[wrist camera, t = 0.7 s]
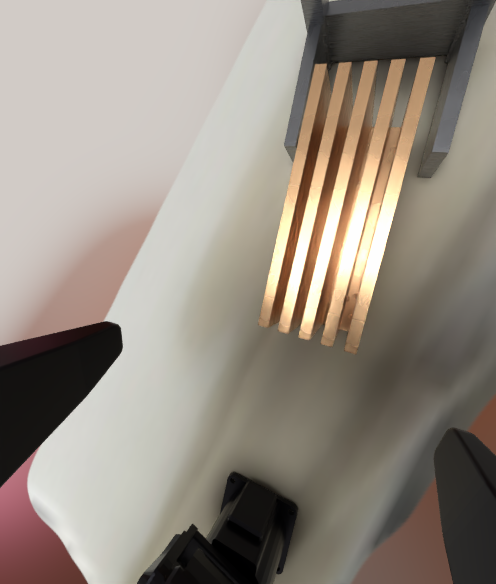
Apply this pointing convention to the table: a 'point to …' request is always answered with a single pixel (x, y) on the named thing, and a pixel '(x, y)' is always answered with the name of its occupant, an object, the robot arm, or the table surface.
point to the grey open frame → (394, 52)
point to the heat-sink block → (341, 202)
